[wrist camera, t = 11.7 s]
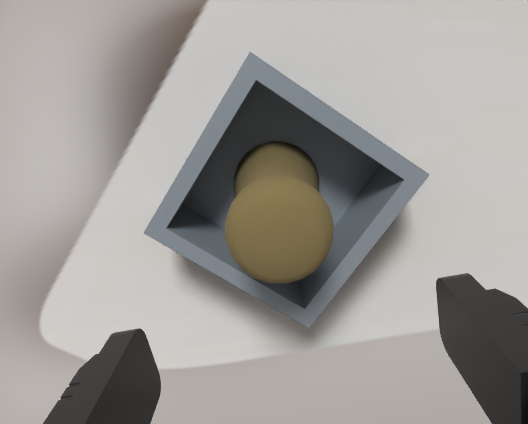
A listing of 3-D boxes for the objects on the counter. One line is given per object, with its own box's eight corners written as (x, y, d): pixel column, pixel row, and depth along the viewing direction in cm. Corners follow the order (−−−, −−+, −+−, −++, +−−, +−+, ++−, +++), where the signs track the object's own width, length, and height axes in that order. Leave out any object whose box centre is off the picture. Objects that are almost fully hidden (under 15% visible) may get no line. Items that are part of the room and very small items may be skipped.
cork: (337, 185, 28) (377, 244, 17) (275, 241, 29) (278, 327, 19) (277, 122, 27) (282, 145, 16) (215, 183, 28) (182, 241, 18)
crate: (254, 59, 27) (250, 51, 21) (397, 156, 28) (429, 174, 23) (168, 204, 30) (143, 233, 24) (301, 284, 31) (308, 328, 26)
